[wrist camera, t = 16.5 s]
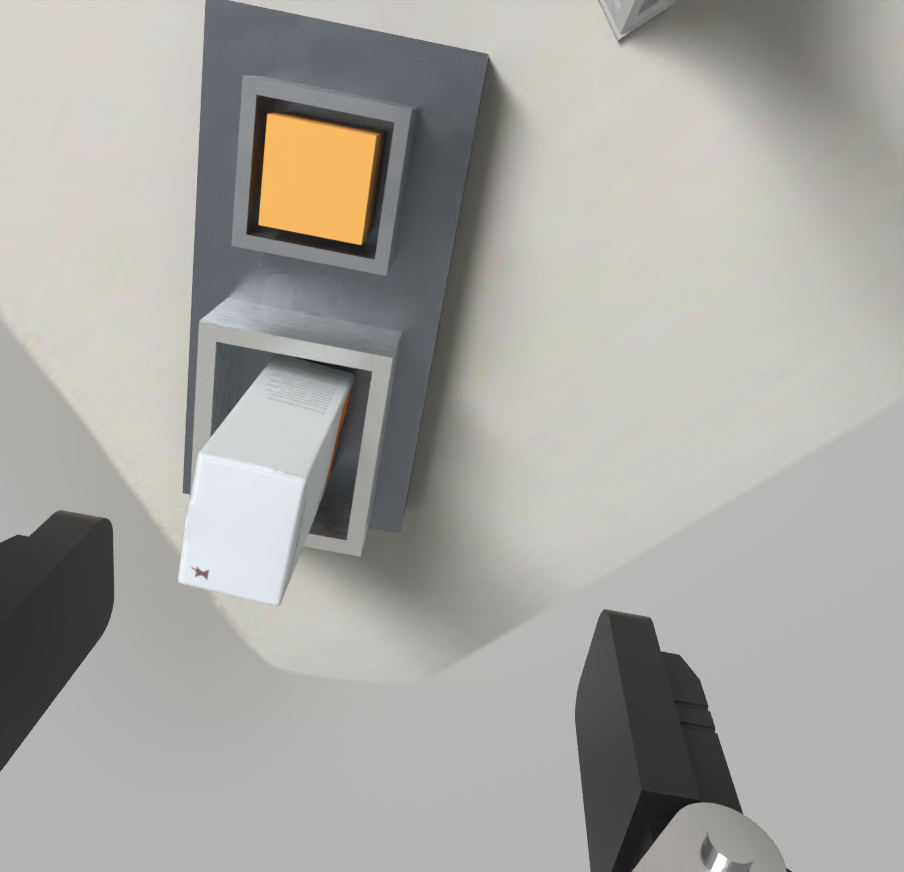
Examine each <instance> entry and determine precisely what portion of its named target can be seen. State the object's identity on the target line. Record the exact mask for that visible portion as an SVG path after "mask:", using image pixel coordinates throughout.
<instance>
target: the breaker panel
mask: <svg viewBox="0 0 904 872" xmlns="http://www.w3.org/2000/svg"><path fill="white" fill-rule="evenodd" d="M488 56H489V54H486V53H481V52H476V51H471V50H466V49H461V48H456V47H452V46H447V45H442V44H437V43H432V42H427V41H423V40H418V39H413V38H408V37H403V36H398V35H393V34H389V33H384V32H379V31H374V30H369V29H364V28H360V27H355V26H350V25H345V24H340V23H335V22H330V21H326V20H321V19H316V18H311V17H306V16H301V15H297V14H292V13H287V12H282V11H277V10H272V9H267V8H263V7H258V6H253V5H248V4H243V3H238V2H234V1H229V0H206V5H205V26H204V48H203V69H202V90H201V112H200V133H199V155H198V176H197V198H196V219H195V241H194V262H193V284H192V305H191V327H190V348H189V369H188V391H187V412H186V434H185V455H184V477H183V493H186V494H190V499H191V494H192V487H193V482H194V475H195V469H196V462H197V456H198V454H199V452H200V451H201V449H202V448H203V447H204V446H205V444H206V443H207V442H208V441H209V439H210V438H211V437H212V435H213V434H214V433H215V431H216V430H217V429H218V428H219V426H220V425H221V424H222V422H223V421H224V420H225V418H226V417H227V416H228V415H229V413H230V412H231V411H232V410H233V408H234V407H235V406H236V404H237V403H238V402H239V400H240V399H241V398H242V397H243V395H244V394H245V393H246V392H247V390H248V389H249V388H250V386H251V385H252V384H253V383H254V381H255V380H256V379H257V377H258V376H259V375H260V374H261V372H262V371H263V370H264V368H265V367H266V366H267V364H268V363H269V362H270V361H271V359H272V358H273V357H274V356H275V354H277V353H278V354H284V355H287V356H291V357H294V358H298V359H301V360H305V361H308V362H312V363H316V364H319V365H323V366H327V367H331V368H334V369H338V370H342V371H346V372H350V373H352V374H354V376H355V378H354V382H353V386H352V390H351V393H350V397H349V401H348V405H347V409H346V413H345V416H344V420H343V425H342V429H341V433H340V438H339V443H338V447H337V452H336V457H335V461H334V466H333V471H332V475H331V477H330V480H329V482H328V485H327V487H326V490H325V492H324V495H323V497H322V500H321V502H320V505H319V507H318V510H317V513H316V515H315V518H314V520H313V523H312V526H311V528H310V531H309V533H308V535H307V538H306V541H305V543H304V547H309V548H315V549H320V550H326V551H331V552H337V553H342V554H348V555H353V556H359V557H361V553H362V549H363V546H364V542H365V538H366V534H367V531H368V527H372V528H378V529H383V530H389V531H394V532H400V531H401V526H402V521H403V516H404V511H405V505H406V500H407V494H408V489H409V484H410V478H411V473H412V467H413V462H414V456H415V451H416V446H417V440H418V435H419V429H420V424H421V419H422V413H423V408H424V402H425V397H426V392H427V386H428V381H429V375H430V370H431V364H432V359H433V354H434V348H435V343H436V337H437V332H438V327H439V321H440V316H441V310H442V305H443V300H444V294H445V289H446V283H447V278H448V273H449V267H450V262H451V256H452V251H453V245H454V240H455V235H456V229H457V224H458V218H459V213H460V208H461V202H462V197H463V191H464V186H465V181H466V175H467V170H468V164H469V159H470V154H471V148H472V143H473V137H474V132H475V126H476V121H477V116H478V110H479V105H480V99H481V94H482V89H483V83H484V78H485V72H486V67H487V62H488ZM278 112H290V113H295V114H300V115H305V116H310V117H315V118H320V119H325V120H330V121H335V122H340V123H345V124H350V125H355V126H360V127H365V128H369V129H374V130H379V131H384V132H385V137H384V145H383V152H382V159H381V166H380V173H379V180H378V187H377V195H376V202H375V209H374V216H373V223H372V230H371V234H370V235H369V236H368V237H367V239H366V240H365V241H364V242H363V244H362V245H358V244H353V243H348V242H343V241H338V240H333V239H328V238H323V237H318V236H312V235H307V234H302V233H297V232H292V231H287V230H282V229H277V228H272V227H266V226H261V225H258V224H259V212H260V199H261V187H262V174H263V161H264V149H265V136H266V124H267V114H270V113H278Z"/></svg>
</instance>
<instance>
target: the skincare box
mask: <svg viewBox="0 0 904 872" xmlns="http://www.w3.org/2000/svg"><path fill="white" fill-rule="evenodd" d="M354 378H355V376H354V374H352V373H350V372H346V371H342V370H338V369H334V368H331V367H327V366H323V365H319V364H316V363H312V362H308V361H305V360H301V359H298V358H294V357H291V356H287V355H284V354H278V353H277V354H275V356H274V357H273V358H272V359H271V361H270V362H269V363H268V364H267V366H266V367H265V368H264V370H263V371H262V372H261V374H260V375H259V376H258V377H257V379H256V380H255V381H254V383H253V384H252V385H251V386H250V388H249V389H248V390H247V392H246V393H245V394H244V395H243V397H242V398H241V399H240V400H239V402H238V403H237V404H236V406H235V407H234V408H233V410H232V411H231V412H230V413H229V415H228V416H227V417H226V418H225V420H224V421H223V422H222V424H221V425H220V426H219V428H218V429H217V430H216V431H215V433H214V434H213V435H212V437H211V438H210V439H209V441H208V442H207V443H206V444H205V446H204V447H203V448H202V449H201V451H200V452H199V454H198V456H197V462H196V469H195V475H194V482H193V487H192V494H191V499H190V504H189V508H188V511H187V516H186V521H185V534H184V541H183V548H182V554H181V562H180V569H179V576H178V582H179V583H181V584H185V585H189V586H194V587H198V588H202V589H206V590H211V591H215V592H219V593H223V594H227V595H231V596H235V597H239V598H243V599H247V600H251V601H255V602H260V603H265V604H269V605H275V606H279V605H280V604H281V602H282V599H283V596H284V594H285V591H286V589H287V586H288V584H289V581H290V579H291V576H292V574H293V571H294V568H295V566H296V563H297V561H298V558H299V556H300V553H301V551H302V548H303V546H304V543H305V541H306V538H307V535H308V533H309V531H310V528H311V526H312V523H313V520H314V518H315V515H316V513H317V510H318V507H319V505H320V502H321V500H322V497H323V495H324V492H325V490H326V487H327V485H328V482H329V480H330V477H331V475H332V471H333V466H334V461H335V457H336V452H337V447H338V443H339V438H340V433H341V429H342V425H343V420H344V416H345V413H346V409H347V405H348V401H349V397H350V393H351V390H352V386H353V382H354Z"/></svg>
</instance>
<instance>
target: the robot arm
mask: <svg viewBox="0 0 904 872" xmlns="http://www.w3.org/2000/svg"><path fill="white" fill-rule="evenodd" d="M113 603H114V564H113V528H112V524H111V522H110V521H109V520H108V519H106V518H101V517H95V516H90V515H85V514H79V513H73V512H68V511H62V510H60V511H57V512H55V513H54V514H53V515H52V516H51V517H50V518H49V519H47V520H46V521H45V522H44V523H43V524H42V525H41V526H40V527H39V528H38V529H37V530H36V531H35V532H33V534H31V535H30V536H29V537H27V536H22V535H16V536H14V537H12V538H9V539H7V540H5V541H3V542H1V543H0V771H1V770H2V769H3V767H4V766H5V765H6V763H7V762H8V761H9V759H10V758H11V756H12V755H13V754H14V752H15V751H16V750H17V749H18V747H19V746H20V745H21V743H22V742H23V741H24V739H25V738H26V737H27V735H28V734H29V733H30V731H31V730H32V729H33V727H34V726H35V725H36V723H37V722H38V721H39V719H40V718H41V716H42V715H43V714H44V713H45V711H46V710H47V709H48V707H49V706H50V705H51V703H52V702H53V700H54V699H55V698H56V696H57V695H58V693H59V692H60V691H61V690H62V688H63V687H64V686H65V684H66V683H67V682H68V680H69V679H70V677H71V676H72V675H73V674H74V672H75V671H76V670H77V668H78V667H79V666H80V664H81V663H82V662H83V660H84V659H85V657H86V656H87V655H88V653H89V652H90V651H91V650H92V648H93V647H94V646H95V644H96V643H97V641H98V640H99V639H100V637H101V636H102V635H103V633H104V631H105V629H106V627H107V625H108V622H109V619H110V616H111V613H112V609H113ZM575 724H576V733H577V743H578V752H579V763H580V772H581V782H582V792H583V801H584V811H585V820H586V829H587V839H588V849H589V858H590V869H591V872H792V871H790V870H788V869H787V868H786V866H785V863H784V860H783V857H782V855H781V853H780V852H779V850H778V848H777V846H776V845H775V843H774V842H773V840H772V839H771V838H770V837H769V836H768V835H767V833H766V832H765V831H764V830H763V829H761V828H760V827H759V826H758V825H757V824H756V823H754V822H753V821H752V820H751V819H749V818H748V817H746V816H744V815H743V812H742V809H741V806H740V803H739V800H738V797H737V794H736V791H735V788H734V784H733V781H732V778H731V775H730V772H729V769H728V766H727V763H726V760H725V757H724V754H723V750H722V747H721V744H720V741H719V738H718V735H717V733H715V725H714V723H713V719H712V716H711V713H710V711H708V704H707V701H706V698H705V694H704V691H703V688H702V685H701V682H700V680H699V678H698V677H697V676H696V675H695V673H694V672H693V671H692V670H691V668H690V667H689V666H688V665H687V663H686V662H685V661H684V660H683V658H682V657H681V656H680V655H677V654H672V653H667V652H661V651H660V647H659V643H658V640H657V636H656V633H655V629H654V625H653V622H652V620H651V618H650V617H645V616H640V615H634V614H628V613H623V612H617V611H612V610H606V609H605V610H603V611H602V613H601V614H600V617H599V619H598V622H597V626H596V629H595V632H594V635H593V639H592V642H591V645H590V649H589V652H588V655H587V659H586V662H585V665H584V668H583V672H582V675H581V679H580V682H579V686H578V691H577V698H576V707H575Z"/></svg>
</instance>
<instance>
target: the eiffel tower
mask: <svg viewBox="0 0 904 872" xmlns="http://www.w3.org/2000/svg"><path fill="white" fill-rule="evenodd" d="M599 2H600V4H601V6H602V9H603V11H604V13H605V15H606V17H607V19H608V21H609V23H610V26H611V28H612V30H613V32H614V34H615V36H616V38H617V40H619V39H621V38H622V37H624V36H625V35H627V34H628V33H630V32H631V31H633V30H634V29H636V28H638V27H639V26H641V25H642V24H644V23H645V22H647V21H648V20H650V19H651V18H653V17H654V16H656V15H658V14H659V13H661V12H662V11H664V10H665V9H667V8H668V7H670V6H671V5H673V4H674V3H673V0H599Z"/></svg>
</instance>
